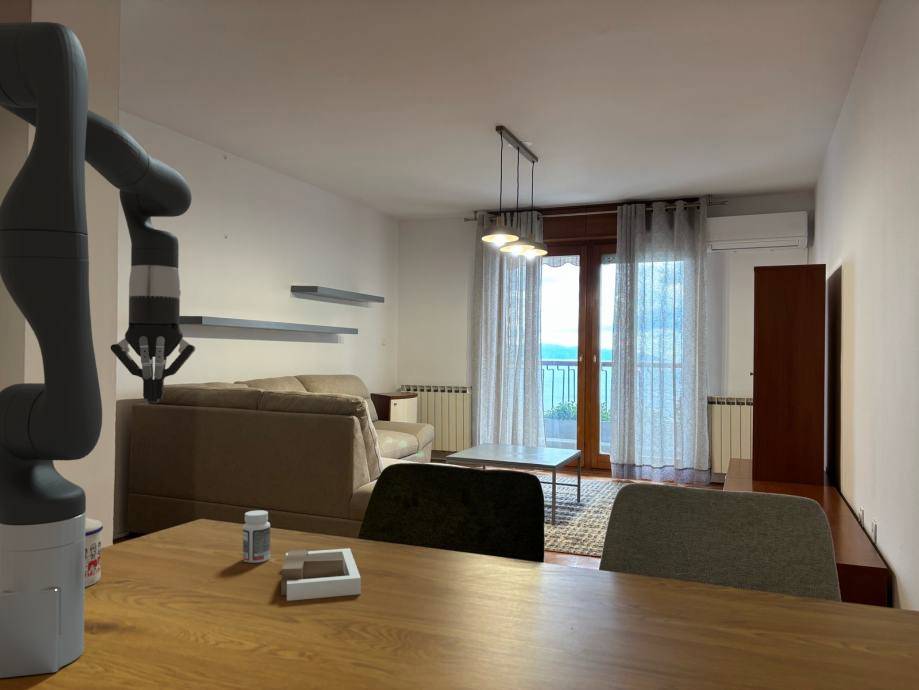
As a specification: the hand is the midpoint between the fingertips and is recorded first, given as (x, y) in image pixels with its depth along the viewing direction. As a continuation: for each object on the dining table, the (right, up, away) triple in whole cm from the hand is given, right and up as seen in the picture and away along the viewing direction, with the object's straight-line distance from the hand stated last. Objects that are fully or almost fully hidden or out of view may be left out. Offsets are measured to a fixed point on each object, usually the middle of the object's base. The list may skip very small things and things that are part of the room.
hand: (153, 402), depth 108 cm
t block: (+26, -29, 0) cm, 39 cm away
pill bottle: (+13, -29, +12) cm, 34 cm away
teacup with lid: (-13, -29, 0) cm, 32 cm away
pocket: (+27, -29, +1) cm, 39 cm away
